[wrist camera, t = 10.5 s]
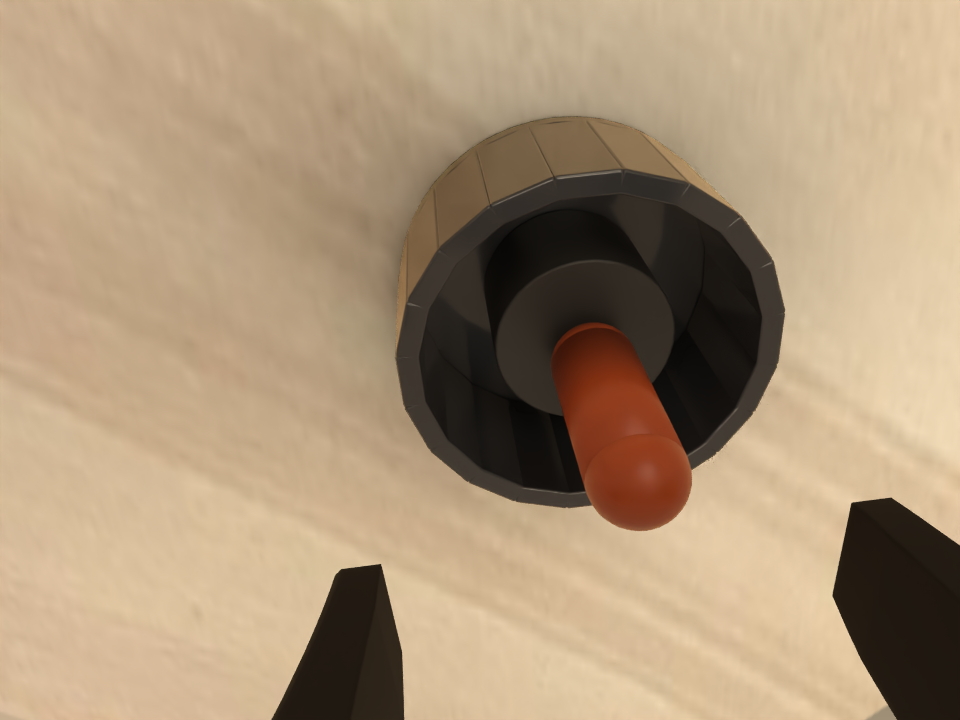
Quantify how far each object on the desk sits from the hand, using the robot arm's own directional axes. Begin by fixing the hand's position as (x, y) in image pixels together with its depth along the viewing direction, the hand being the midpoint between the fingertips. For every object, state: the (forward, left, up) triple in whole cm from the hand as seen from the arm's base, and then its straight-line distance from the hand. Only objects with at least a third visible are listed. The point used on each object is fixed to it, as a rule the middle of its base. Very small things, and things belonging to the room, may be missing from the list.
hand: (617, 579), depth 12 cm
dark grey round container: (+1, 0, -10) cm, 10 cm away
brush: (+1, +1, -9) cm, 9 cm away
